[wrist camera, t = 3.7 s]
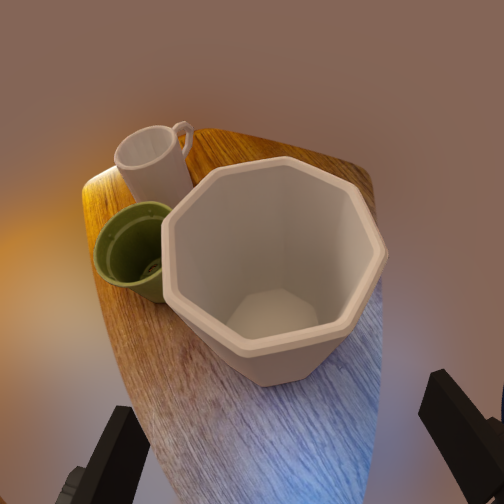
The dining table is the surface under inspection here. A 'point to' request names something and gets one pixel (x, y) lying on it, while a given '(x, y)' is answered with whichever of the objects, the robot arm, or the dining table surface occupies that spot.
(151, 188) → the mug
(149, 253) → the plant pot
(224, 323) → the cup
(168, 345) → the dining table surface
